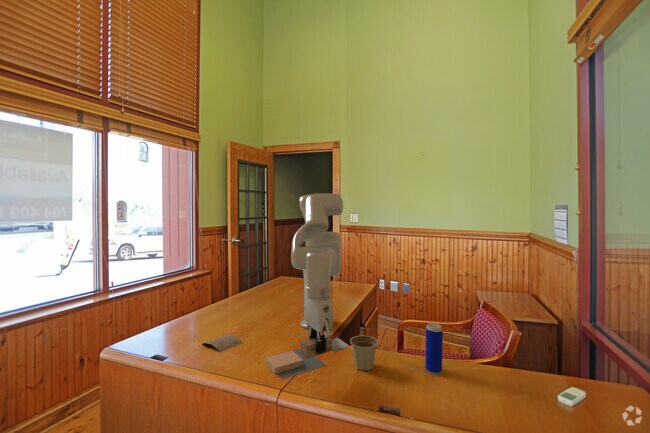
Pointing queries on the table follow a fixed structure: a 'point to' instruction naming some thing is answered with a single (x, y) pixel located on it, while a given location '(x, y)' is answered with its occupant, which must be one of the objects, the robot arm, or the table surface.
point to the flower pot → (364, 351)
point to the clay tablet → (225, 342)
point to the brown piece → (331, 345)
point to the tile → (284, 362)
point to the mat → (307, 366)
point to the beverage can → (434, 348)
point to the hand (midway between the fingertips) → (317, 349)
